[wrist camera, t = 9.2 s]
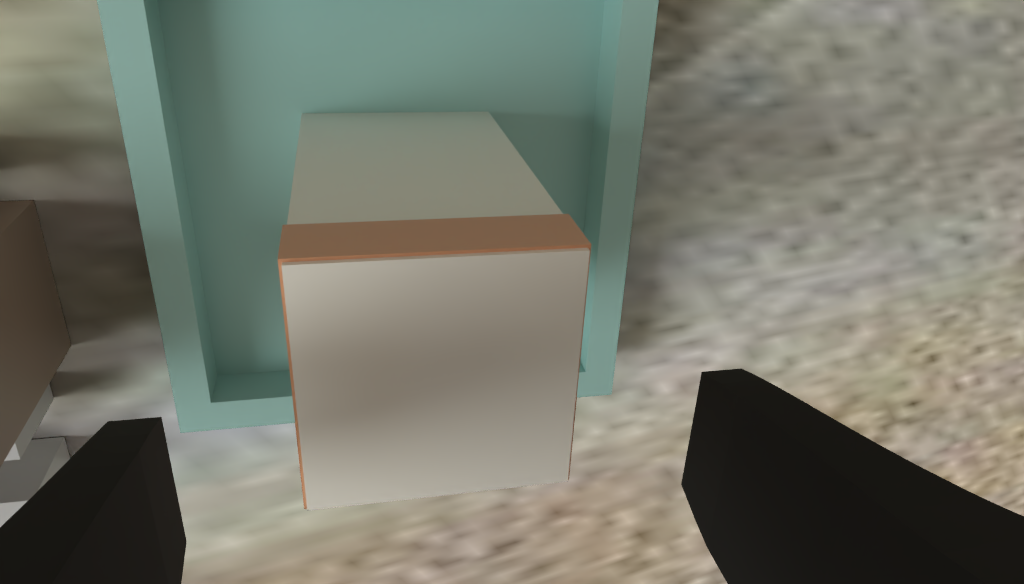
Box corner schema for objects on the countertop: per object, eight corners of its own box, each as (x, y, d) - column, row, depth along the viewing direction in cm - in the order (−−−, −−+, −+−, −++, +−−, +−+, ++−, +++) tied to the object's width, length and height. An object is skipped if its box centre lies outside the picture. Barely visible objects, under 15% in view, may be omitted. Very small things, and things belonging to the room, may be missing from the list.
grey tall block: (490, 109, 18) (593, 247, 11) (485, 275, 20) (570, 483, 13) (299, 110, 17) (277, 261, 10) (314, 285, 19) (304, 513, 12)
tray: (634, -53, 17) (664, -48, 16) (592, 359, 22) (611, 394, 21) (109, -72, 15) (84, -67, 14) (192, 391, 20) (180, 432, 19)
